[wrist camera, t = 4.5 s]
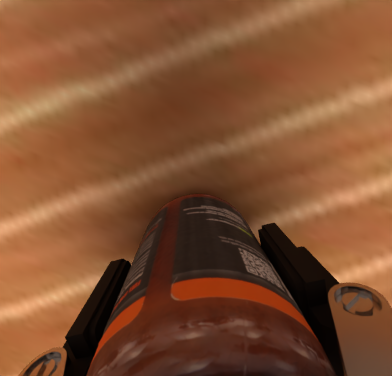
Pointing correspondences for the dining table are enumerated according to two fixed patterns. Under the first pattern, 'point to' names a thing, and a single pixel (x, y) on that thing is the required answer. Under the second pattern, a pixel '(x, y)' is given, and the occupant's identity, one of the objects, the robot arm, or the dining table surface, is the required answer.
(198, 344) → the supplement bottle
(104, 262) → the dining table surface
